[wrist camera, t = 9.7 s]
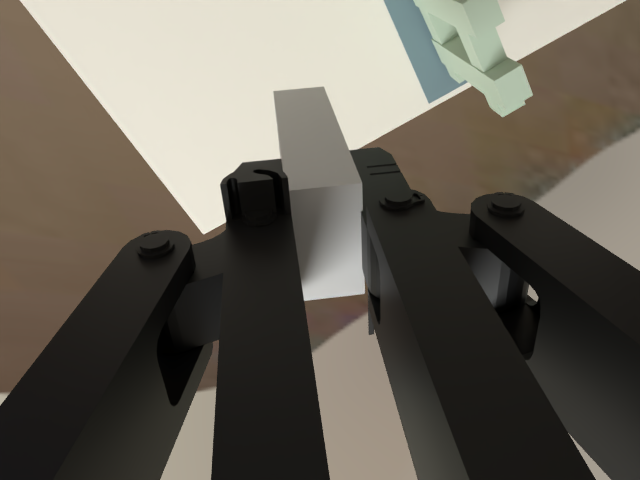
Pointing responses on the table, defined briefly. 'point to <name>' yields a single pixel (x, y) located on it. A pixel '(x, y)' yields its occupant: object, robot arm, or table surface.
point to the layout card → (265, 72)
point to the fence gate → (476, 50)
